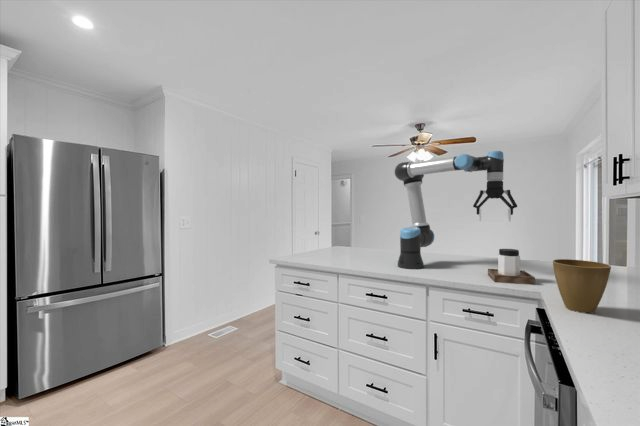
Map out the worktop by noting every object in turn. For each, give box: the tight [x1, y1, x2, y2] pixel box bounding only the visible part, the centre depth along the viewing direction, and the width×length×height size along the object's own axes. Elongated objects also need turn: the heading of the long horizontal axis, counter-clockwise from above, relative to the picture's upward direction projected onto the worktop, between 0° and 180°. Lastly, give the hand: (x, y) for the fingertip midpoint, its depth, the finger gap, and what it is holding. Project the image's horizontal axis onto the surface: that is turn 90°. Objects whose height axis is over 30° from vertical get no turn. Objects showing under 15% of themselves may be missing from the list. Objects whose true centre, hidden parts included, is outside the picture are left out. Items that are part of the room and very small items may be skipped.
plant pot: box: [552, 258, 612, 313], centre depth 101 cm, size 15×15×16 cm
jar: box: [497, 248, 521, 276], centre depth 145 cm, size 9×8×12 cm
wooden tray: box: [487, 268, 536, 286], centre depth 145 cm, size 16×16×3 cm
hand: (494, 221), depth 158 cm, fingers open, 13 cm apart
